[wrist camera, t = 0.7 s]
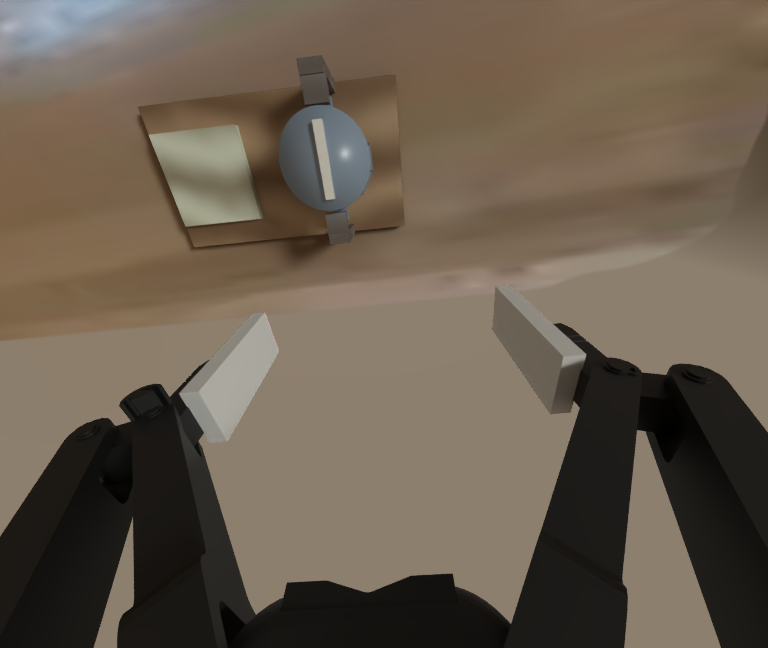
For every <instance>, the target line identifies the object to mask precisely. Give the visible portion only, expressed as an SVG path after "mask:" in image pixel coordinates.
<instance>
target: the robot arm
mask: <svg viewBox="0 0 768 648" xmlns="http://www.w3.org/2000/svg"><path fill="white" fill-rule="evenodd" d="M492 330H493V331H494V333H495V334H496V336H497V337H498V339H499V340H500V341H501V343H502V344H503V346H504V347H505V349H506V350H507V352H508V353H509V355H510V356H511V357H512V359H513V360H514V362H515V363H516V365H517V366H518V368H519V369H520V371H521V372H522V373H523V375H524V376H525V378H526V379H527V381H528V382H529V384H530V385H531V387H532V388H533V390H534V391H535V393H536V394H537V395H538V397H539V398H540V400H541V401H542V403H543V404H544V406H545V407H546V408H547V410H548V411H549V413H550V414H556V413H569V412H571V409H572V405H573V402H574V401H575V403H576V404H577V405H578V406H579V407H580V409H579V412H578V416H577V419H576V422H575V425H574V428H573V431H572V434H571V438H570V441H569V444H568V447H567V450H566V453H565V457H564V460H563V463H562V466H561V469H560V472H559V476H558V479H557V482H556V485H555V488H554V491H553V495H552V498H551V501H550V504H549V507H548V510H547V514H546V517H545V520H544V523H543V527H542V529H541V532H540V535H539V538H538V541H537V544H536V547H535V550H534V554H533V557H532V560H531V563H530V566H529V569H528V572H527V575H526V579H525V582H524V585H523V588H522V591H521V594H520V598H519V601H518V604H517V607H516V611H515V614H514V616H513V620H512V623H511V624H510V623H509V622H508V620H507V619H505V617H503V615H501V614H500V613H499V612H498V611H497V610H496V609H495V608H494V607H493V606H491V605H490V604H489V603H488V602H486V601H485V600H483V599H482V598H480V597H478V596H477V595H475V594H473V593H471V592H469V591H466V590H465V589H461V588H458V587H455V585H454V579H453V574H436V575H417V576H409V577H407V578H405V579H402V580H400V581H397V582H395V583H392V584H390V585H387V586H385V587H382V588H380V589H377V590H375V591H372V592H369V593H366V592H361V591H359V590H355V589H352V588H349V587H346V586H343V585H339V584H336V583H333V582H330V581H309V582H291V583H287V585H286V589H285V594H284V598H282V599H279V600H277V601H276V602H274V603H272V604H270V605H269V606H268V607H266V608H265V609H263V610H262V611H261V612H259V613H258V614H257V615H256V614H255V612H254V611H253V609H252V607H251V605H250V602H249V600H248V597H247V595H246V591H245V588H244V585H243V581H242V578H241V575H240V571H239V568H238V565H237V562H236V558H235V555H234V552H233V548H232V545H231V542H230V538H229V535H228V532H227V529H226V525H225V522H224V519H223V515H222V512H221V509H220V505H219V502H218V499H217V495H216V492H215V489H214V485H213V482H212V479H211V476H210V473H209V469H208V466H207V462H206V459H205V456H204V452H203V449H202V446H201V445H200V443H199V442H198V441H199V439H200V438H201V436H202V435H203V434H204V435H205V436H206V438H207V440H208V441H209V443H218V442H227V441H228V440H229V438H230V436H231V434H232V433H233V431H234V429H235V427H236V425H237V424H238V422H239V421H240V419H241V417H242V415H243V414H244V412H245V410H246V408H247V407H248V405H249V403H250V401H251V400H252V398H253V396H254V395H255V393H256V391H257V389H258V388H259V386H260V384H261V382H262V381H263V379H264V377H265V375H266V374H267V372H268V370H269V368H270V367H271V365H272V363H273V361H274V360H275V358H276V356H277V355H278V353H279V350H278V347H277V344H276V341H275V338H274V336H273V333H272V330H271V328H270V325H269V322H268V319H267V316H266V313H265V312H263V313H254V314H251V316H250V317H249V318H248V319H247V320H246V321H245V322H244V323H243V324H242V325H241V326H240V328H239V329H238V330H237V331H236V332H235V333H234V334H233V335H232V336H231V338H229V340H228V341H227V342H226V343H225V344H224V345H223V346H222V347H221V348H220V349H219V350H218V352H217V353H216V354H215V355H214V356H213V357H212V358H211V359H210V360H208V361H206V362H205V363H203V364H202V365H201V366H199V367H198V368H197V369H196V370H195V371H194V372H193V373H192V374H191V376H189V378H187V380H186V382H184V383H183V384H182V385H181V386H180V387H179V388H178V389H177V390H176V391H175V392H174V393H173V394H172V396H171V397H169V396H168V394H167V393H166V391H165V390H164V388H163V387H162V385H161V384H152V385H147V386H145V387H141V388H139V389H137V390H135V391H133V392H132V393H130V394H129V395H127V396H126V397H125V398H124V399H123V400H122V401H121V402H120V405H119V406H120V407H121V409H122V410H123V411H124V413H125V414H126V415H127V416H128V418H129V419H130V420H131V422H128V423H125V424H122V425H118V426H115V425H114V424H113V423H112V421H111V420H110V419H108V418H101V419H97V420H94V421H92V422H89V423H86V424H84V425H83V426H80V427H79V428H77V429H76V430H75V431H74V432H72V433H71V434H70V435H69V436H68V437H67V438H66V439H65V440H64V442H63V443H62V445H61V446H60V448H59V449H58V451H57V452H56V454H55V455H54V457H53V458H52V460H51V462H50V463H49V464H48V466H47V467H46V469H45V470H44V472H43V473H42V475H41V476H40V478H39V479H38V481H37V482H36V484H35V485H34V487H33V488H32V490H31V491H30V493H29V494H28V496H27V497H26V499H25V500H24V502H23V503H22V505H21V506H20V508H19V509H18V511H17V512H16V514H15V515H14V517H13V518H12V520H11V521H10V523H9V524H8V526H7V527H6V529H5V530H4V532H3V533H2V535H1V536H0V648H93V647H94V644H95V641H96V637H97V634H98V631H99V627H100V624H101V621H102V618H103V614H104V611H105V608H106V604H107V601H108V598H109V594H110V591H111V588H112V584H113V581H114V578H115V574H116V571H117V568H118V564H119V561H120V557H121V554H122V551H123V548H124V544H125V541H126V537H127V534H128V531H129V527H130V524H131V521H132V517H133V540H134V605H133V607H132V608H131V609H129V610H128V611H127V612H125V613H124V614H123V615H122V617H121V619H120V621H119V627H118V635H117V648H624V643H625V631H626V619H627V602H628V597H627V596H628V595H627V588H626V587H625V586H624V585H623V581H622V573H623V572H622V571H623V562H624V553H625V543H626V533H627V523H628V513H629V502H630V493H631V483H632V473H633V463H634V454H635V444H636V434H637V433H636V432H637V430H642V431H646V434H647V437H648V440H649V443H650V445H651V448H652V451H653V454H654V457H655V460H656V462H657V465H658V468H659V471H660V474H661V477H662V480H663V483H664V485H665V488H666V491H667V494H668V497H669V500H670V503H671V505H672V508H673V511H674V514H675V517H676V520H677V523H678V526H679V528H680V531H681V534H682V537H683V540H684V542H685V546H686V548H687V551H688V554H689V557H690V560H691V562H692V566H693V568H694V571H695V574H696V577H697V580H698V583H699V586H700V589H701V591H702V594H703V597H704V600H705V603H706V606H707V608H708V611H709V614H710V617H711V620H712V623H713V626H714V629H715V631H716V634H717V637H718V640H719V643H720V646H721V648H768V432H767V431H766V430H765V428H764V427H763V426H762V425H761V423H760V422H759V421H758V419H757V418H756V417H755V416H754V414H753V413H752V412H751V410H750V409H749V408H748V407H747V405H746V404H745V403H744V401H743V400H742V399H741V398H740V396H739V395H738V394H737V392H736V391H735V390H734V389H733V387H732V386H731V385H730V383H729V382H728V381H727V380H726V379H725V378H724V377H723V376H721V375H720V374H718V373H716V372H714V371H712V370H710V369H708V368H704V367H702V366H696V365H691V364H676V365H672V366H671V367H670V368H669V370H668V372H667V375H661V374H660V375H659V374H651V373H642V372H641V370H639V368H638V367H636V366H635V365H633V364H631V363H630V362H627V361H624V360H621V359H617V358H607V357H606V356H605V355H603V354H602V353H601V352H600V351H598V350H597V349H596V348H595V347H594V346H593V345H591V344H590V343H589V342H587V341H586V340H585V339H584V338H583V337H582V336H580V335H579V334H578V333H577V332H576V331H574V330H573V329H572V328H570V327H568V326H566V325H564V324H561V323H558V324H552V323H551V322H550V321H549V320H548V319H547V318H546V317H545V316H544V315H542V314H541V313H540V312H539V311H538V310H537V309H536V308H534V306H532V305H531V304H530V303H529V302H528V301H527V300H526V299H525V298H524V297H522V296H521V295H520V294H519V293H518V292H517V291H516V290H515V289H514V288H513V287H511V286H510V285H505V286H496V288H495V301H494V316H493V327H492Z"/></svg>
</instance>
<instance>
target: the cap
mask: <svg viewBox="0 0 768 648" xmlns="http://www.w3.org/2000/svg"><path fill="white" fill-rule="evenodd" d="M329 97H330V103H331V105H314V106H309V107H307V108H304V109H302V110H300V111H299V112H297V113H296V114H295V115H294V116H292V118H291V119H290V120H289V121H288V123H287V124H286V126H285V127H284V130H283V132H282V135H281V138H280V142H279V152H278V154H279V164H280V168H281V172H282V175H283V177H284V180H285V182H286V183H287V185H288V187H289V188H290V190H291V191H292V192H293V193H294V195H295V196H296V197H297V198H299V199H300V200H301V201H302V202H304V203H305V204H307V205H308V206H310V207H313V208H315V209H318V210H323V211H332V212H342V211H347V218H348V220H349V212H348V206H350V205H351V204H352V203H353V202H355V201H356V200H357V199H358V198H359V197H361V196H362V195H363V194H364V193H365V192H366V190H367V187H368V185H369V182H370V180H371V177H372V174H373V173H372V172H370V171H373V163H372V153H371V148H370V145H369V143H368V141H367V139H366V138H365V136H364V134H363V133H362V131H361V129H360V128H359V126H358V125H357V123H356V122H355V121H354V120H353V119H352V118H351V117H349V116H348V115H347V114H346V113H344V112H342V111H341V110H339V109H337V108H334V107H333V102H332V98H331V96H329Z"/></svg>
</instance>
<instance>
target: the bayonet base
mask: <svg viewBox="0 0 768 648" xmlns="http://www.w3.org/2000/svg"><path fill="white" fill-rule="evenodd" d="M297 65H298V70H299V75H300V80H301V85H302V86H300V87H292V88H284V89H276V90H268V91H260V92H252V93H244V94H236V95H228V96H220V97H212V98H204V99H196V100H188V101H180V102H172V103H164V104H156V105H148V106H140V107H138V109H139V111H140V114H141V116H142V119H143V121H144V124H145V126H146V129H147V131H148V134H149V137H150V140H151V142H152V145H153V147H154V150H155V152H156V155H157V157H158V160H159V162H160V165H161V167H162V170H163V172H164V175H165V177H166V179H167V182H168V184H169V187H170V189H171V192H172V194H173V197H174V199H175V202H176V204H177V207H178V209H179V212H180V214H181V217H182V219H183V222H184V224H185V227H186V228H187V230H188V233H189V235H190V238H191V240H192V243H193V245H194V247H202V246H212V245H222V244H231V243H241V242H251V241H261V240H271V239H280V238H290V237H300V236H310V235H319V234H328V235H329V240H330V245H331V244H341V243H350V241H351V239H352V237H353V235H354V234H355V231H359V230H368V229H378V228H388V227H398V226H404V209H403V193H402V176H401V160H400V144H399V127H398V111H397V94H396V78H395V75H387V76H379V77H371V78H363V79H355V80H347V81H339V82H334V79H333V77H332V75H331V73H330V71H329V69H328V67H327V65H326V63H325V61H324V59H323V57H322V55H320V56H312V57H304V58H297ZM329 96H331V98H332V102H333V107H334V108H337V109H339V110H341V111H342V112H344V113H346V114H347V115H348V116H349V117H351V118H352V119H353V120H354V121H355V122H356V123H357V125H358V126H359V128H360V129H361V131H362V133H363V134H364V136H365V138H366V139H367V141H368V143H369V145H370V148H371V153H372V163H373V171H370V172H372V173H373V174H372V177H371V180H370V182H369V185H368V187H367V190H366V192H365V193H364V194H363V195H362V196H361V197H359V198H358V199H357V200H356V201H355V202H353V203H352V204H351V205H350V206H348V212H349V220H348V218H347V211H342V212H332V211H323V210H318V209H315V208H313V207H310V206H308V205H307V204H305V203H304V202H302V201H301V200H300V199H299V198H297V197H296V196H295V195H294V193H293V192H292V191H291V190H290V188H289V187H288V185H287V183H286V182H285V180H284V177H283V175H282V172H281V168H280V164H279V154H278V152H279V142H280V138H281V135H282V132H283V130H284V127H285V126H286V124H287V123H288V121H289V120H290V119H291V118H292V116H294V115H295V114H296V113H297V112H299V111H300V110H302V109H304V108H307V107H309V106H314V105H331V103H330V97H329Z"/></svg>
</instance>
